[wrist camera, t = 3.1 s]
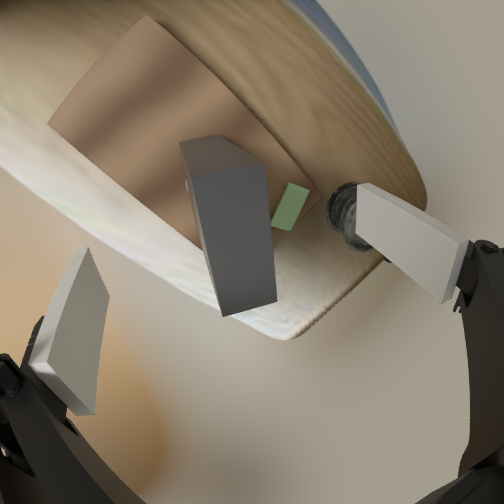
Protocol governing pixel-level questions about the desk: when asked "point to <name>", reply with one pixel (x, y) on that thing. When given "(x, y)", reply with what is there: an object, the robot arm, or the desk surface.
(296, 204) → the dial marks
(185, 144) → the grey block
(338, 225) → the dark grey chess piece
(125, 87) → the board
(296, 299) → the desk surface
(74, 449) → the robot arm
